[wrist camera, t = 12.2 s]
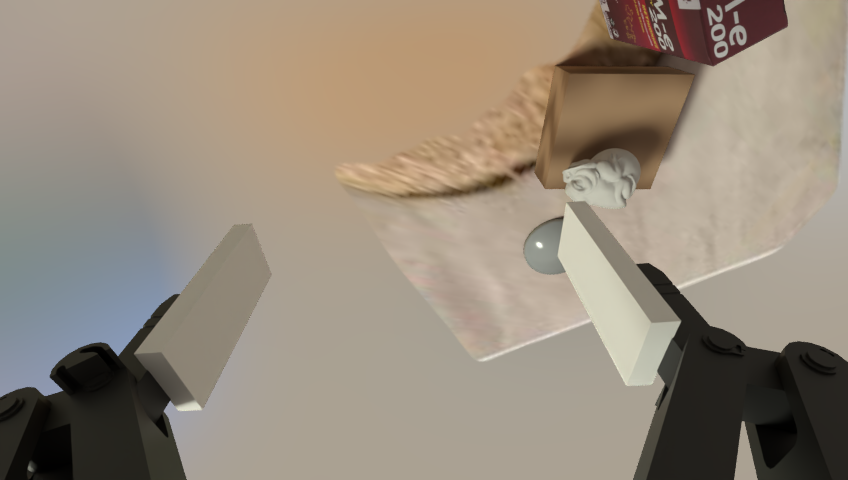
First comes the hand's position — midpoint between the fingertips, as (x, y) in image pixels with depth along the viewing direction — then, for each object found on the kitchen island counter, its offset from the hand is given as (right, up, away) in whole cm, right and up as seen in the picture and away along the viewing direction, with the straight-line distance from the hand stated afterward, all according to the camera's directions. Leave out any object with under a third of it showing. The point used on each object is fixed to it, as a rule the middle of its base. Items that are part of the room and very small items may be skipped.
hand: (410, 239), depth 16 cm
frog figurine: (+21, +9, +22) cm, 32 cm away
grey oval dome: (+19, -1, +36) cm, 40 cm away
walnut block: (+20, +14, +27) cm, 36 cm away
